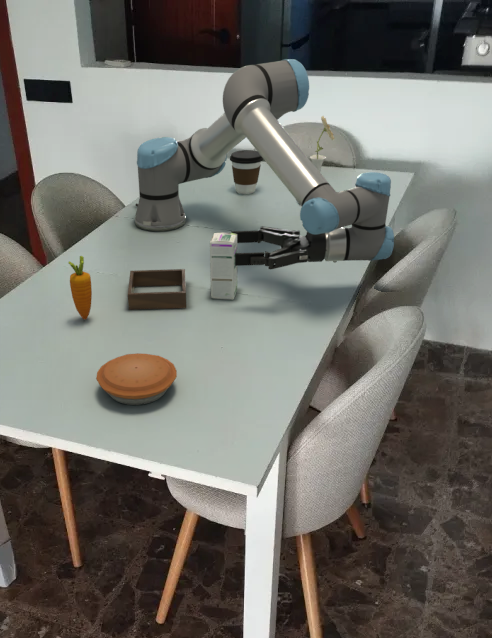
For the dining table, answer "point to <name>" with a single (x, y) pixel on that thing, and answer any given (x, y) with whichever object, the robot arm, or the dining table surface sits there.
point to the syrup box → (223, 265)
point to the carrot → (81, 289)
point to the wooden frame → (157, 298)
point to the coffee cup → (246, 170)
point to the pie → (136, 378)
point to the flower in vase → (319, 159)
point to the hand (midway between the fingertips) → (232, 248)
